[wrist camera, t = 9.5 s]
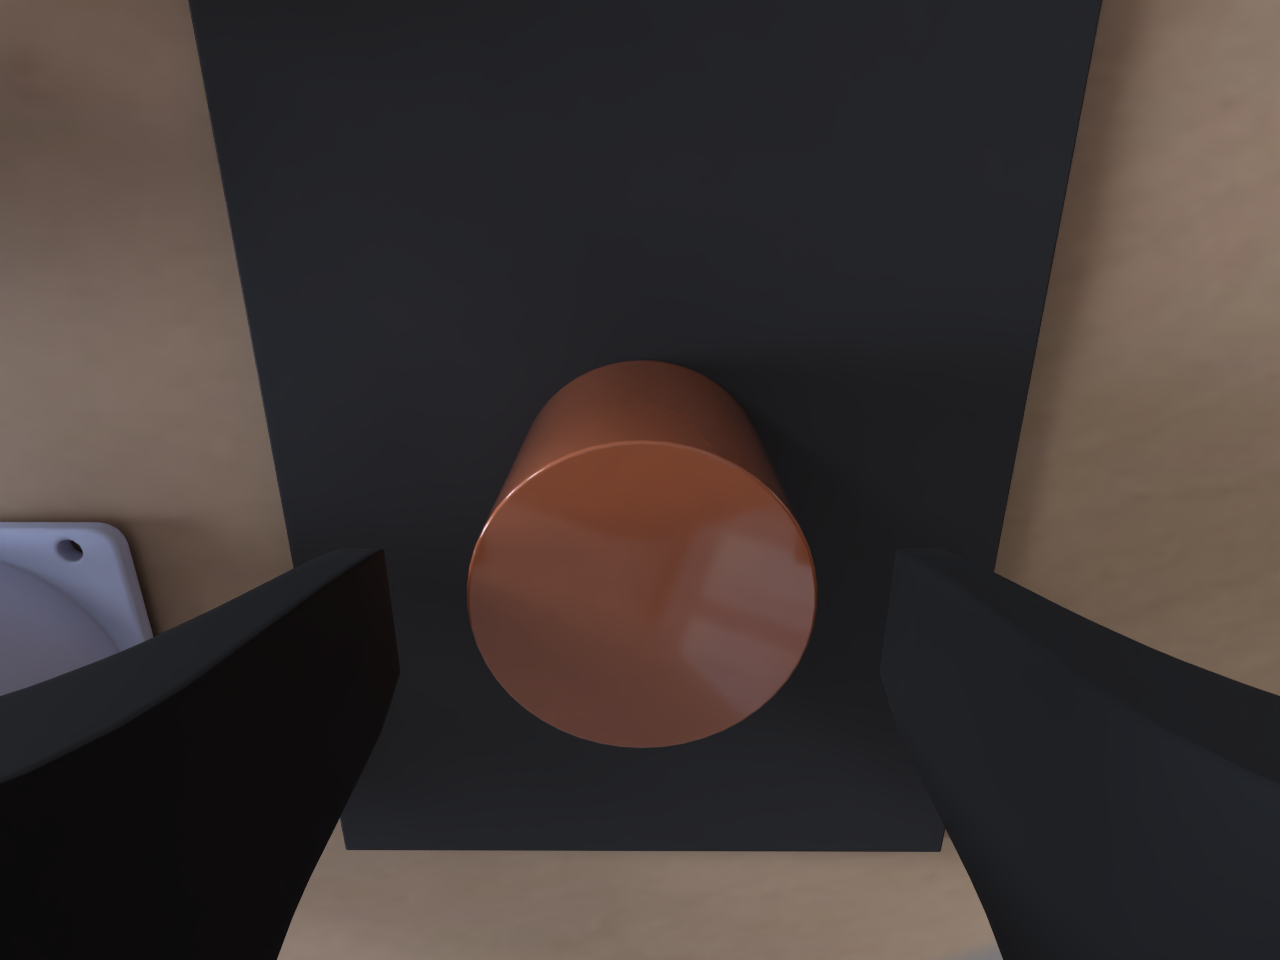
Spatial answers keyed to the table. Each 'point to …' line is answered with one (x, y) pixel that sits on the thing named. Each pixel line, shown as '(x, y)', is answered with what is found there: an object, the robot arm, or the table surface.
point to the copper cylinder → (642, 563)
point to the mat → (644, 341)
